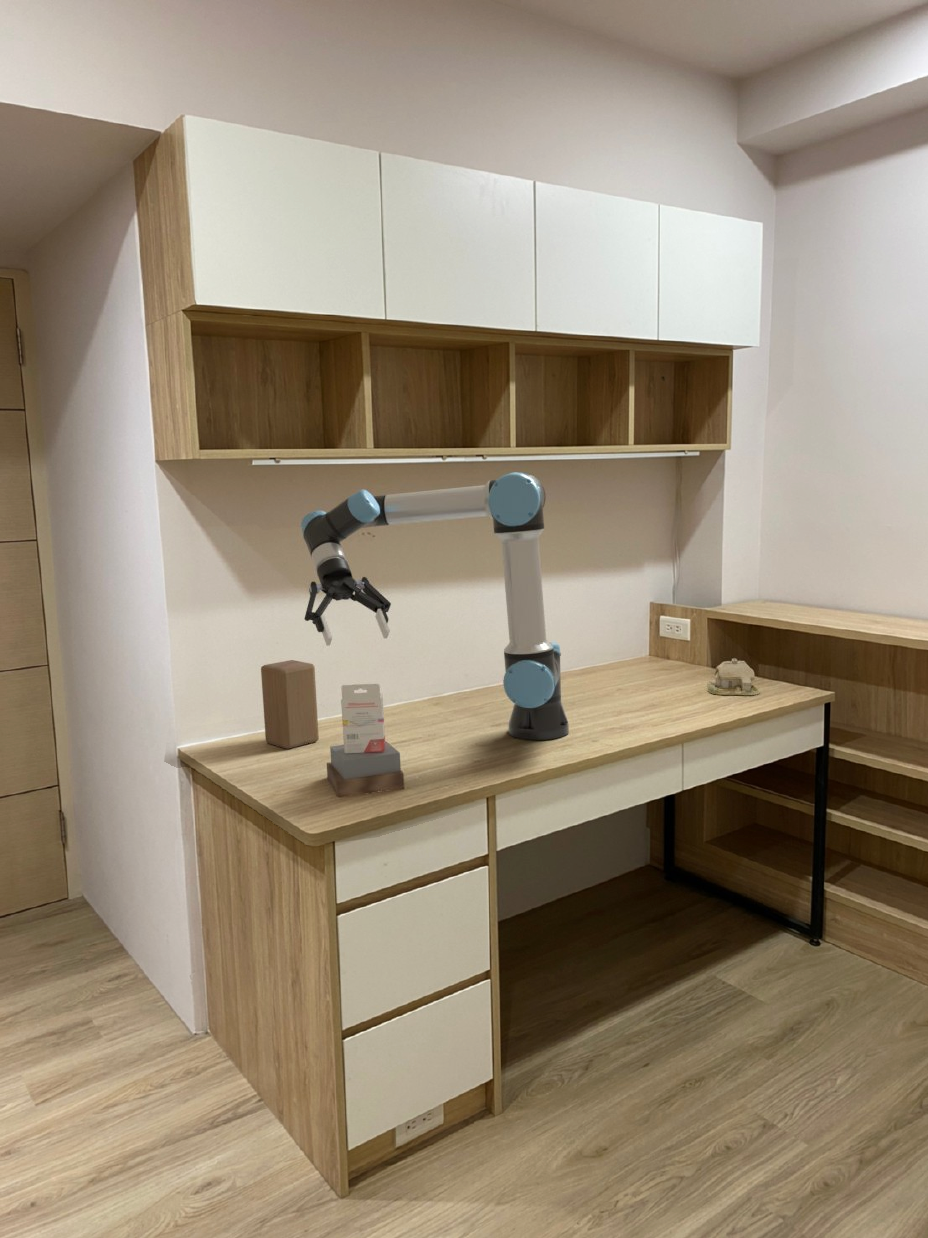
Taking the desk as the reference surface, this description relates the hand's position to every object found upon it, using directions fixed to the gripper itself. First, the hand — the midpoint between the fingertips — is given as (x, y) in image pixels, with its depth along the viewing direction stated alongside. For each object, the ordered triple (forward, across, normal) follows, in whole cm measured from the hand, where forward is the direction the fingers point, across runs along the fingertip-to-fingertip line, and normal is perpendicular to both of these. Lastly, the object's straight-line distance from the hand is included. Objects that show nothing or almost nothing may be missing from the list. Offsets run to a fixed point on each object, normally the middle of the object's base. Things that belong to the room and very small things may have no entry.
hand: (358, 638), depth 208 cm
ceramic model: (+16, -117, -28) cm, 121 cm away
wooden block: (0, +9, -41) cm, 42 cm away
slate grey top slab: (+26, +4, -10) cm, 29 cm away
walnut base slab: (+29, +5, -13) cm, 33 cm away
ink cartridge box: (+24, +4, -7) cm, 26 cm away
